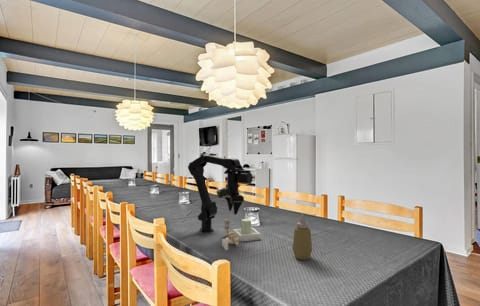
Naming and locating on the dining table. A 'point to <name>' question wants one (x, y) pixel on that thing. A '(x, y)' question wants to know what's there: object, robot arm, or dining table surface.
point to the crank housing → (227, 242)
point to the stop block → (245, 226)
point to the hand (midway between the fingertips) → (232, 212)
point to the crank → (230, 233)
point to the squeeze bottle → (302, 240)
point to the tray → (247, 235)
